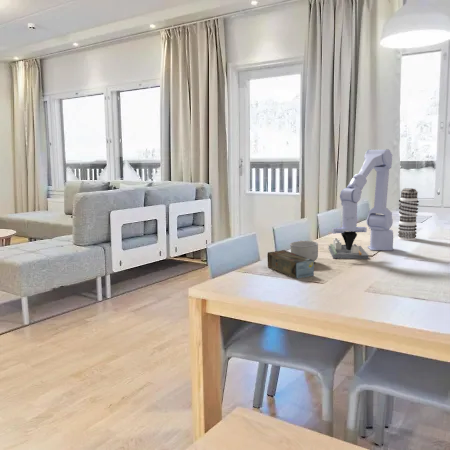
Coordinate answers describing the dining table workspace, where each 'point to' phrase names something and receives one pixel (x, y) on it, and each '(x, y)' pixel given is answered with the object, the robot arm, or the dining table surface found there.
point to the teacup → (305, 249)
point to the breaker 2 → (337, 245)
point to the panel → (347, 253)
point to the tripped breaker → (355, 248)
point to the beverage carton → (291, 264)
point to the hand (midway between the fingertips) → (348, 249)
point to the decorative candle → (408, 214)
